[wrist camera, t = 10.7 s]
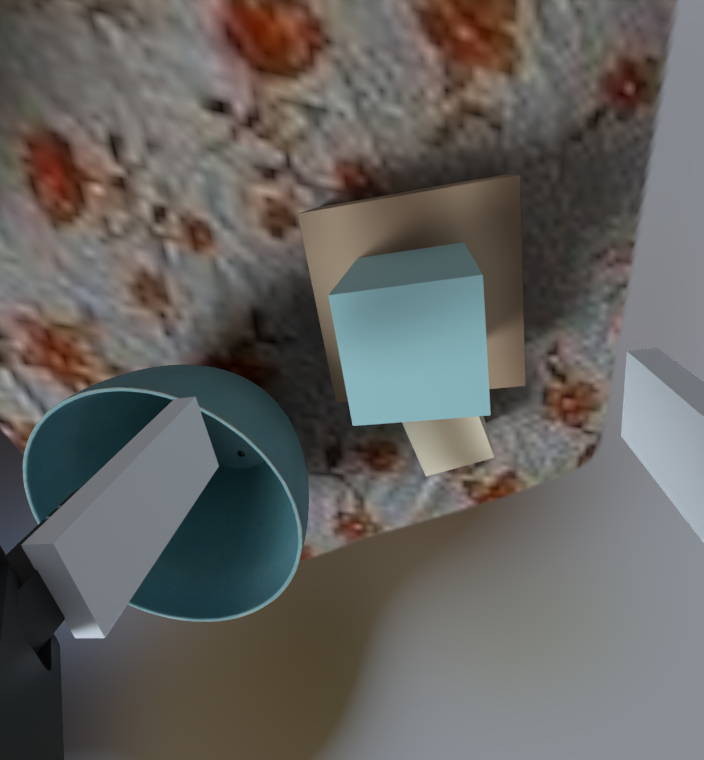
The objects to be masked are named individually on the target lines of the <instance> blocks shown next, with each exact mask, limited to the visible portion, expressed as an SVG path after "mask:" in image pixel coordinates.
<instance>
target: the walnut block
mask: <svg viewBox="0 0 704 760" xmlns="http://www.w3.org/2000/svg"><path fill="white" fill-rule="evenodd" d="M298 218H299V223H300V228H301V233H302V238H303V243H304V247H305V252H306V257H307V262H308V267H309V272H310V277H311V282H312V287H313V292H314V297H315V302H316V307H317V312H318V317H319V322H320V327H321V332H322V337H323V342H324V346H325V351H326V356H327V361H328V366H329V371H330V376H331V381H332V386H333V391H334V396H335V401H336V403H341V402H348V398H347V393H346V387H345V382H344V377H343V371H342V366H341V361H340V355H339V350H338V345H337V339H336V334H335V329H334V323H333V318H332V313H331V307H330V302H329V297H328V295H329V294H330V293H331V291H332V290H333V289H334V287H335V286H336V285H337V284H338V282H339V281H340V280H341V279H342V277H343V276H344V275H345V273H346V272H347V271H348V270H349V268H350V267H351V266H352V264H353V263H354V262H355V261H356V259H357V258H362V257H368V256H375V255H382V254H389V253H395V252H402V251H409V250H415V249H422V248H429V247H436V246H442V245H449V244H456V243H463V242H464V243H465V245H466V247H467V248H468V250H469V252H470V253H471V255H472V257H473V259H474V260H475V262H476V264H477V265H478V267H479V269H480V271H481V272H482V274H483V286H484V304H485V322H486V340H487V358H488V376H489V389H496V388H507V387H518V386H526V384H525V346H524V307H523V268H522V230H521V191H520V175H497V176H491V177H485V178H480V179H474V180H468V181H463V182H457V183H451V184H446V185H440V186H434V187H429V188H423V189H418V190H412V191H406V192H401V193H395V194H389V195H384V196H378V197H372V198H367V199H361V200H355V201H350V202H344V203H338V204H333V205H327V206H321V207H317V208H314V209H311V210H308V211H305V212H302V213H299V214H298Z"/></svg>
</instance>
